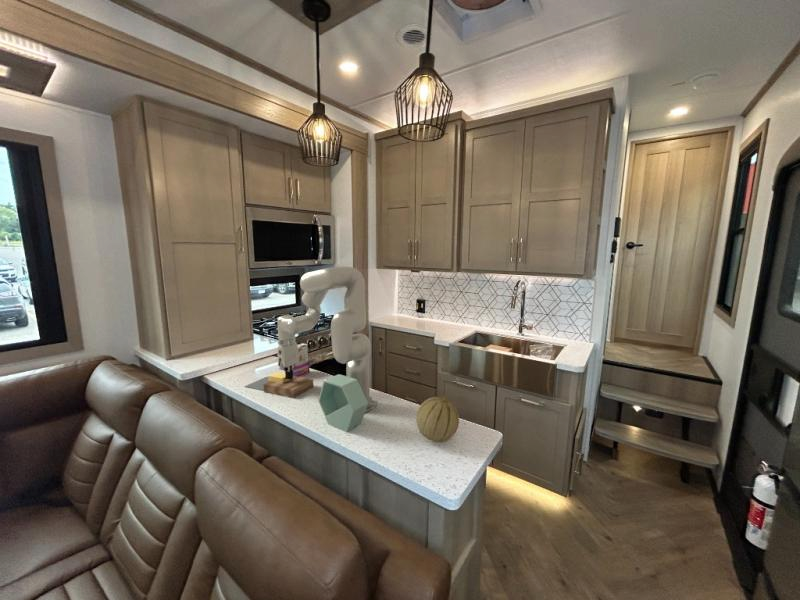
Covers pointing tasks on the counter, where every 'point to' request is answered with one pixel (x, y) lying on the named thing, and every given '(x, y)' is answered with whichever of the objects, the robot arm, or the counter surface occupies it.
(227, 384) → the counter surface
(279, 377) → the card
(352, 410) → the planter
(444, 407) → the cantaloupe
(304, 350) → the candy bar box
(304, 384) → the block
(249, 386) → the mat
